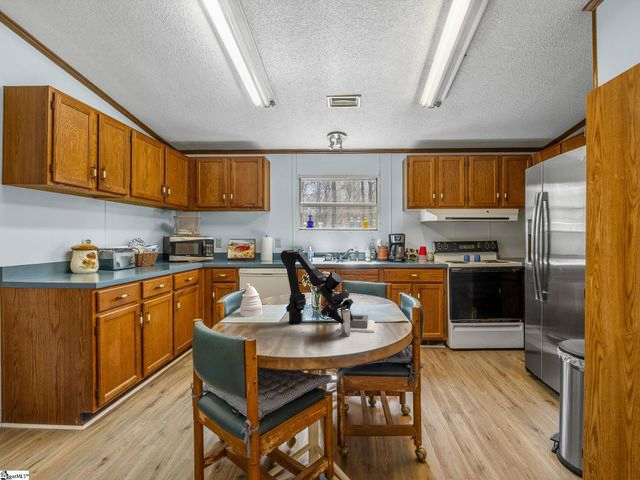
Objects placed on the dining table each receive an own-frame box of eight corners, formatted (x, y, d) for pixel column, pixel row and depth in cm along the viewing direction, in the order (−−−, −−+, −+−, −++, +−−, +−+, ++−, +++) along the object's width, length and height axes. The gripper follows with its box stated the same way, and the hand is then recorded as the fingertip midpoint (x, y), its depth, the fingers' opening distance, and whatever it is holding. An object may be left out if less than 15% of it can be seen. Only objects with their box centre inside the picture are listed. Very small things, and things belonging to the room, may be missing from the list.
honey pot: (236, 315, 191) (235, 285, 190) (247, 310, 203) (246, 281, 202) (255, 317, 187) (255, 286, 186) (265, 311, 199) (265, 282, 199)
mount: (336, 330, 159) (336, 321, 159) (341, 320, 177) (340, 312, 177) (373, 332, 156) (373, 323, 156) (374, 322, 174) (374, 313, 173)
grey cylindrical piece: (340, 336, 151) (339, 309, 150) (341, 333, 155) (341, 307, 155) (349, 337, 150) (349, 310, 149) (350, 334, 154) (350, 307, 154)
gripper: (325, 287, 147) (344, 315, 140) (350, 282, 161) (369, 307, 154) (313, 302, 153) (331, 330, 146) (338, 296, 167) (355, 321, 160)
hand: (347, 321), depth 151 cm, fingers open, 7 cm apart
